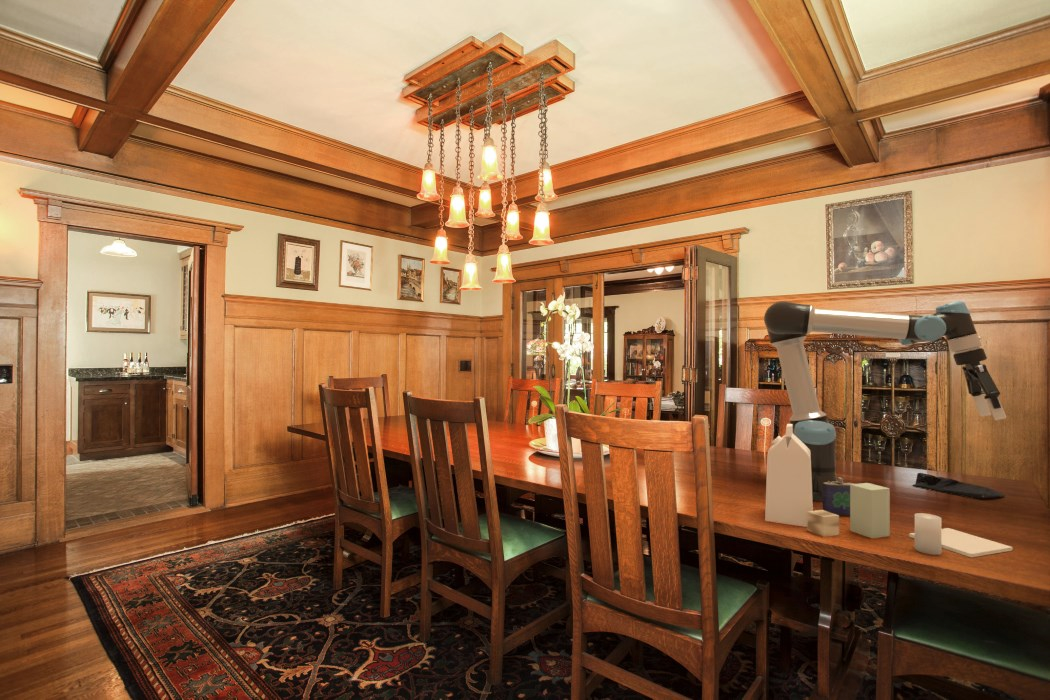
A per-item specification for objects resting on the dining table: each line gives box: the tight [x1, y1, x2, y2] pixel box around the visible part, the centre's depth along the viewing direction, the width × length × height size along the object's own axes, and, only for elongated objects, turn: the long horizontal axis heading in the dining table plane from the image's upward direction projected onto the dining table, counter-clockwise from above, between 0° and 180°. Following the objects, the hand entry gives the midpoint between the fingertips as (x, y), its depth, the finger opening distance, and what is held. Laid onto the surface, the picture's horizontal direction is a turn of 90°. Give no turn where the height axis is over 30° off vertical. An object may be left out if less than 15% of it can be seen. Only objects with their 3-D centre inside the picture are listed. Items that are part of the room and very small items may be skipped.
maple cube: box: [807, 509, 840, 538], centre depth 135 cm, size 5×5×5 cm
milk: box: [764, 423, 814, 528], centre depth 147 cm, size 12×12×26 cm
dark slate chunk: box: [911, 472, 1006, 500], centre depth 176 cm, size 15×22×5 cm
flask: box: [822, 476, 855, 517], centre depth 149 cm, size 9×3×11 cm, turn 88°
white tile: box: [908, 527, 1013, 559], centre depth 127 cm, size 14×14×1 cm
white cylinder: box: [914, 512, 943, 556], centre depth 123 cm, size 5×5×8 cm
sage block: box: [849, 482, 891, 539], centre depth 134 cm, size 6×6×12 cm
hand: (993, 417), depth 159 cm, fingers open, 13 cm apart
